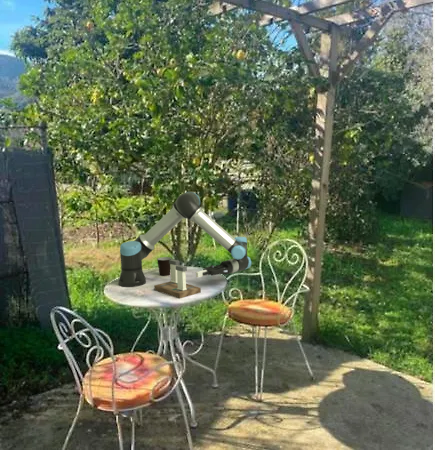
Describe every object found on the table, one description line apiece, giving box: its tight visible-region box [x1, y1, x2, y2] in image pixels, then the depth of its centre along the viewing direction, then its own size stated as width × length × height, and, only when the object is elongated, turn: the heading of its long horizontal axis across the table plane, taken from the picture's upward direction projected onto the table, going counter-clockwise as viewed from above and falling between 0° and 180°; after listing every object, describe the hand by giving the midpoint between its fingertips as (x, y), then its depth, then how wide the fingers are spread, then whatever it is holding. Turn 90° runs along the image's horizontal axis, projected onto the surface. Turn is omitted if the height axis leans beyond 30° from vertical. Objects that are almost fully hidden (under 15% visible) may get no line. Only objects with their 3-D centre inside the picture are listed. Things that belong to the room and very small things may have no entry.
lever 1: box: [169, 258, 181, 283], centre depth 241 cm, size 3×6×12 cm, turn 43°
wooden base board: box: [153, 281, 202, 299], centre depth 234 cm, size 14×22×3 cm, turn 43°
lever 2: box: [176, 264, 188, 291], centre depth 227 cm, size 3×6×12 cm, turn 43°
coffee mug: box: [156, 256, 172, 277], centre depth 271 cm, size 12×9×10 cm
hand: (197, 274), depth 234 cm, fingers closed
